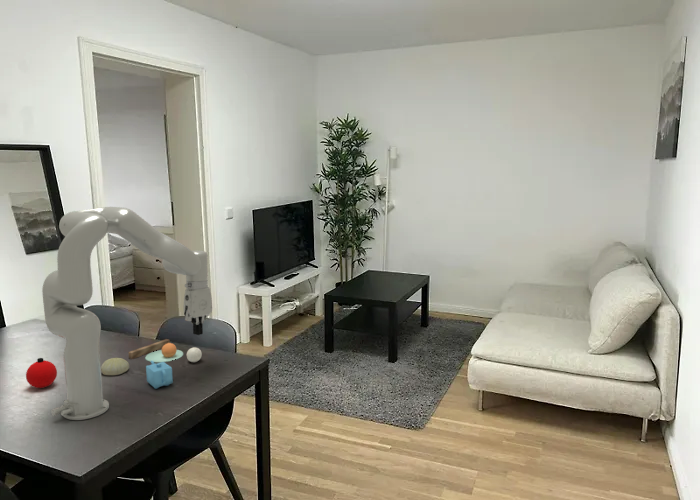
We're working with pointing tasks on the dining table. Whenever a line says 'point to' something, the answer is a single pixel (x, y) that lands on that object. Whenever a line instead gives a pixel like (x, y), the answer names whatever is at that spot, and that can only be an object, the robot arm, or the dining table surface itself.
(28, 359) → the dining table surface
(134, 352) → the walnut rail
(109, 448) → the dining table surface
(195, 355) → the cue ball
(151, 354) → the mint mark
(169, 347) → the orange ball
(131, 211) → the robot arm
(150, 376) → the blue fidget cube
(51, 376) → the ornament
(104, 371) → the sea urchin shell
